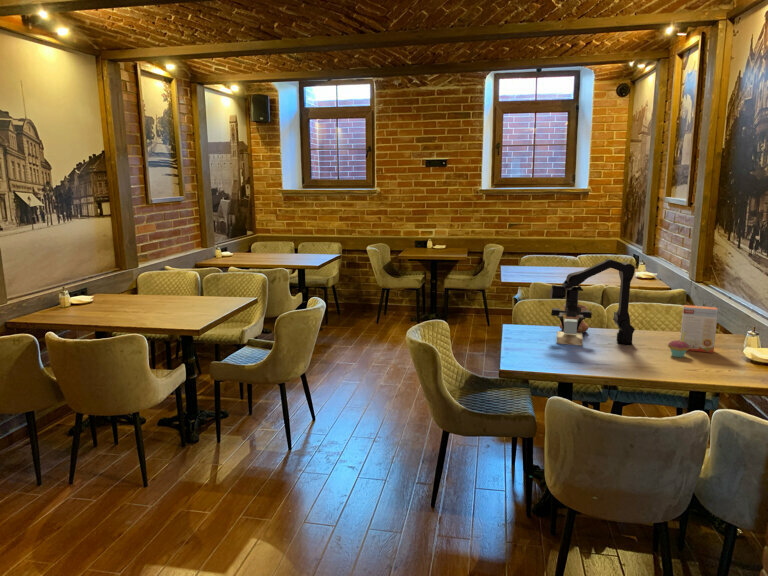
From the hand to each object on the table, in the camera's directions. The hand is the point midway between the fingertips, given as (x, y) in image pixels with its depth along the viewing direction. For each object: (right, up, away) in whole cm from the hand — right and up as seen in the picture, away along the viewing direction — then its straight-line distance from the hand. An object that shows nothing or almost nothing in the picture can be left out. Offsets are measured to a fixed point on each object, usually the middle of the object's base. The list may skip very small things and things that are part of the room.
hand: (570, 329), depth 276 cm
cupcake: (+42, -10, -22) cm, 48 cm away
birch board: (0, -6, +1) cm, 6 cm away
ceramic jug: (+8, -3, +19) cm, 21 cm away
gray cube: (0, -1, 0) cm, 1 cm away
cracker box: (+55, -9, -13) cm, 57 cm away
